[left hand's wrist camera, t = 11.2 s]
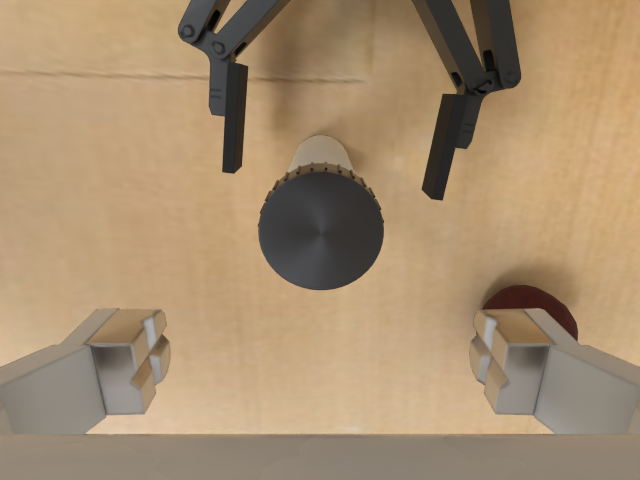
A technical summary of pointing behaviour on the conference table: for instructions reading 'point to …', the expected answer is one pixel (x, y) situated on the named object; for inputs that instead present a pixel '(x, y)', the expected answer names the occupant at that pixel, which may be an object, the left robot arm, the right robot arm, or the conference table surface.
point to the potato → (534, 305)
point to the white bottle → (320, 153)
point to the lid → (321, 227)
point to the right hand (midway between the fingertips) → (333, 182)
